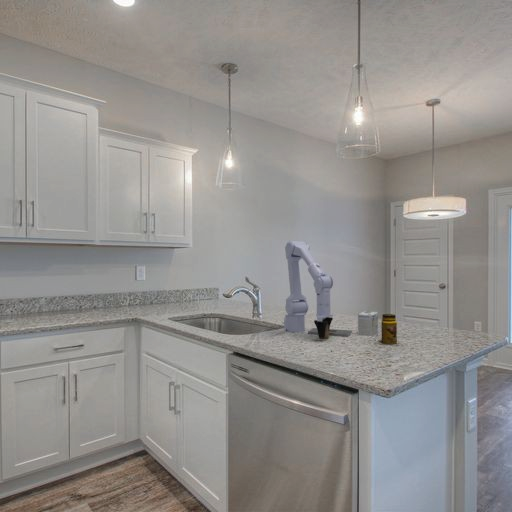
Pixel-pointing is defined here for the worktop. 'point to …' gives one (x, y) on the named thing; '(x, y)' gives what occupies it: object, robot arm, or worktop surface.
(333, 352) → the worktop surface
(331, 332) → the hole plate
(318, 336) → the pad
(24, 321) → the worktop surface
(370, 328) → the light bulb box
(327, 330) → the peg
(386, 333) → the condiment
